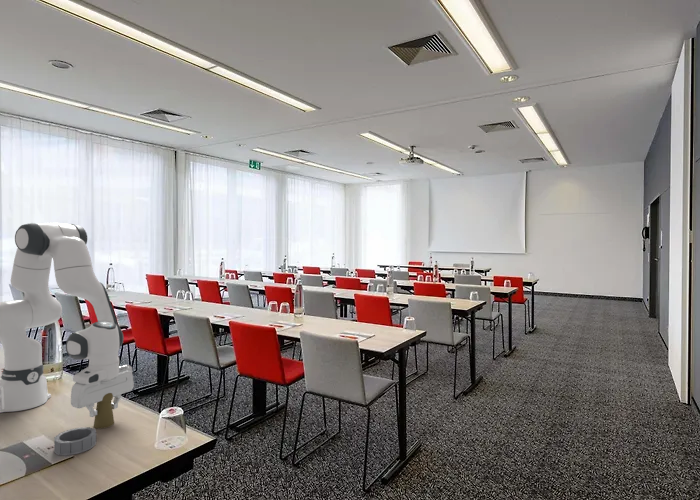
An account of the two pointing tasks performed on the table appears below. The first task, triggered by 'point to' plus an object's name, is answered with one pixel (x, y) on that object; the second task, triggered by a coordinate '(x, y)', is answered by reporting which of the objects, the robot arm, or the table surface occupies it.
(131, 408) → the table surface
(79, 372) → the robot arm
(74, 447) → the faceted grey ring
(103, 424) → the cork
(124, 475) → the table surface
